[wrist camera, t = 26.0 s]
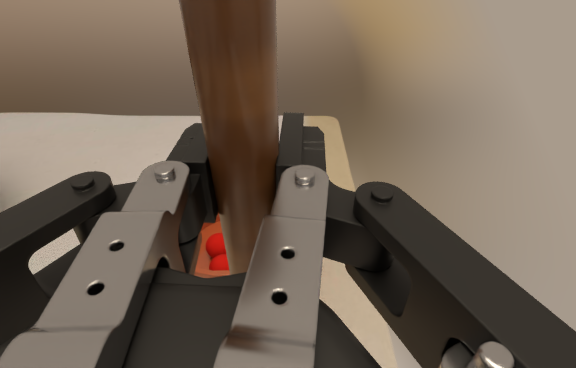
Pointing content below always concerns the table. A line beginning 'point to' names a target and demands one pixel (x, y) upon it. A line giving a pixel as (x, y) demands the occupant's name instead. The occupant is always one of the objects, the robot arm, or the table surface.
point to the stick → (237, 111)
